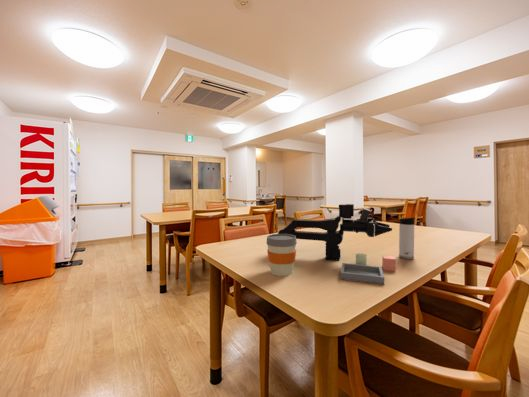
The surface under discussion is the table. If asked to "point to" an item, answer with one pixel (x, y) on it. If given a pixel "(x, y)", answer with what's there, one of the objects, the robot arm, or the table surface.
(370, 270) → the serving tray
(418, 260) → the table surface
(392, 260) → the red cube
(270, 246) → the reusable coffee cup
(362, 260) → the green cylinder
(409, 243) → the travel mug
